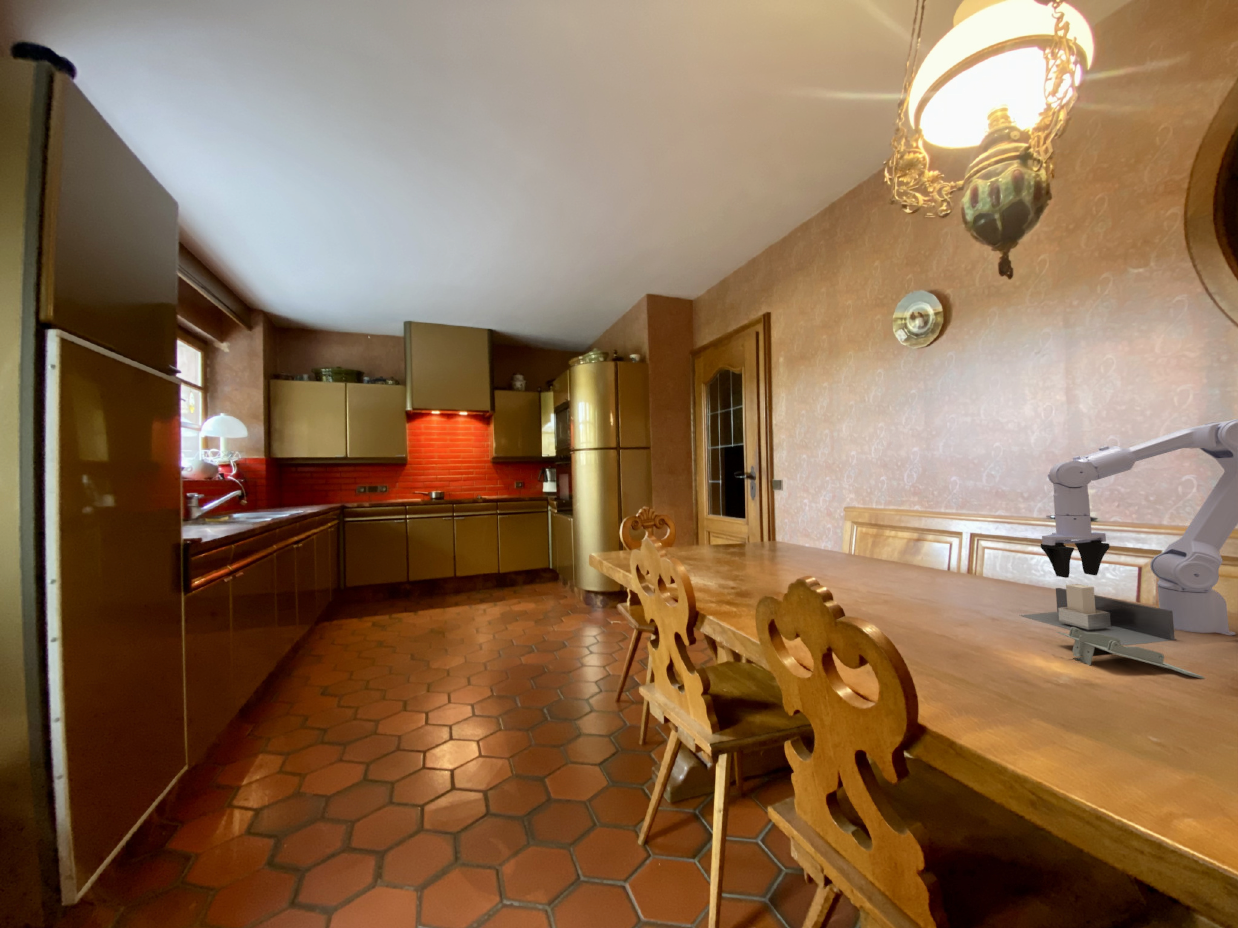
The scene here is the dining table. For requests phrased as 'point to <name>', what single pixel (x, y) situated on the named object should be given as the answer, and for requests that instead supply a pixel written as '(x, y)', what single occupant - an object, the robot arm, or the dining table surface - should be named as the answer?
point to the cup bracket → (1118, 616)
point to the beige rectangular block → (1080, 598)
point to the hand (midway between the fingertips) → (1076, 575)
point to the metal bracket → (1114, 650)
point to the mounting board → (1099, 630)
